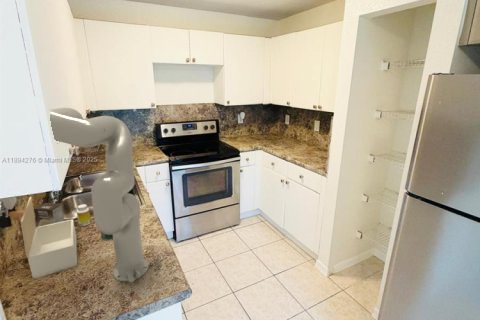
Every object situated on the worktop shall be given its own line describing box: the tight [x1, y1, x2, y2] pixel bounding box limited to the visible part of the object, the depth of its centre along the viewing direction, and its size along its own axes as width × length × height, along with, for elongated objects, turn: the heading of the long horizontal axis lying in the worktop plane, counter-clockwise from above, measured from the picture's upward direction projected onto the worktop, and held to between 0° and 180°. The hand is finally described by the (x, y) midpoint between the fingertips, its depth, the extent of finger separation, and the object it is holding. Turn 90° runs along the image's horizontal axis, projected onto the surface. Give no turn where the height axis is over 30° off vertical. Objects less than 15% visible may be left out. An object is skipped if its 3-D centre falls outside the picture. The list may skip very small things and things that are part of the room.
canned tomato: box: [100, 231, 113, 241], centre depth 122 cm, size 8×8×11 cm
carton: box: [27, 219, 78, 280], centre depth 108 cm, size 24×14×10 cm, turn 32°
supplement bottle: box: [76, 203, 92, 227], centre depth 133 cm, size 6×6×10 cm
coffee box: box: [33, 202, 66, 227], centre depth 121 cm, size 9×6×16 cm
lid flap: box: [8, 196, 37, 258], centre depth 100 cm, size 24×14×6 cm
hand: (9, 221), depth 98 cm, fingers open, 9 cm apart
